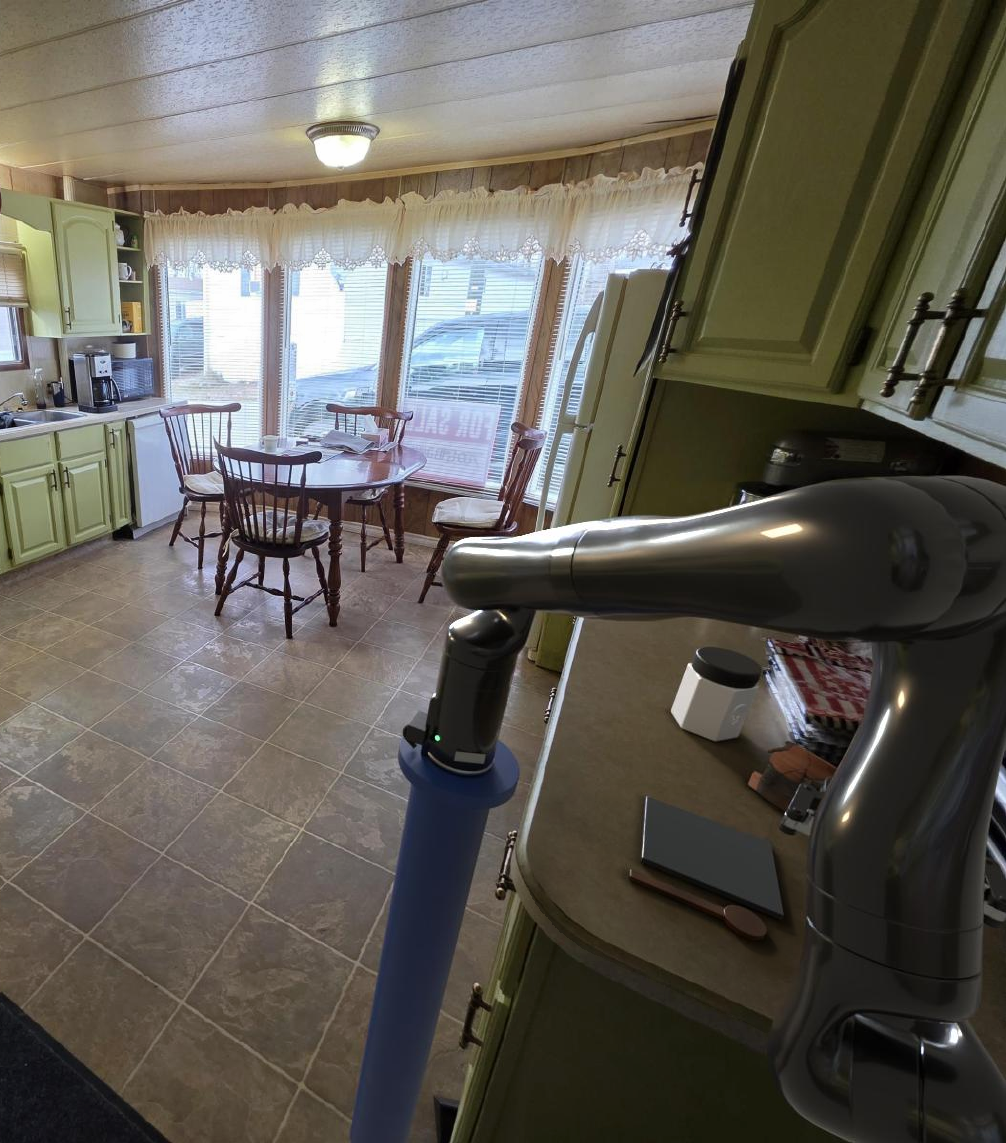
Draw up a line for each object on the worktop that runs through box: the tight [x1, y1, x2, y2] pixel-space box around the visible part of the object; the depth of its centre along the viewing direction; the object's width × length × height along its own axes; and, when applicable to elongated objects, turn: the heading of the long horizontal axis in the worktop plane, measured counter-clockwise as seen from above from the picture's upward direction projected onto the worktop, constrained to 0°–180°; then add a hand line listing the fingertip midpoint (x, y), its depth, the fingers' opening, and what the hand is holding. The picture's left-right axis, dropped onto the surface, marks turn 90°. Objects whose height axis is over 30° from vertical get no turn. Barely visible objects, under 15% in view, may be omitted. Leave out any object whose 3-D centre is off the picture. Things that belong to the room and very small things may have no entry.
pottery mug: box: [747, 740, 838, 816], centre depth 80 cm, size 12×10×8 cm
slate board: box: [640, 796, 785, 921], centre depth 72 cm, size 13×12×1 cm
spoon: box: [628, 868, 768, 942], centre depth 66 cm, size 12×4×1 cm, turn 56°
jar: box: [670, 646, 763, 742], centre depth 94 cm, size 9×8×12 cm
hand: (886, 803), depth 58 cm, fingers closed on smoothie, 6 cm apart
